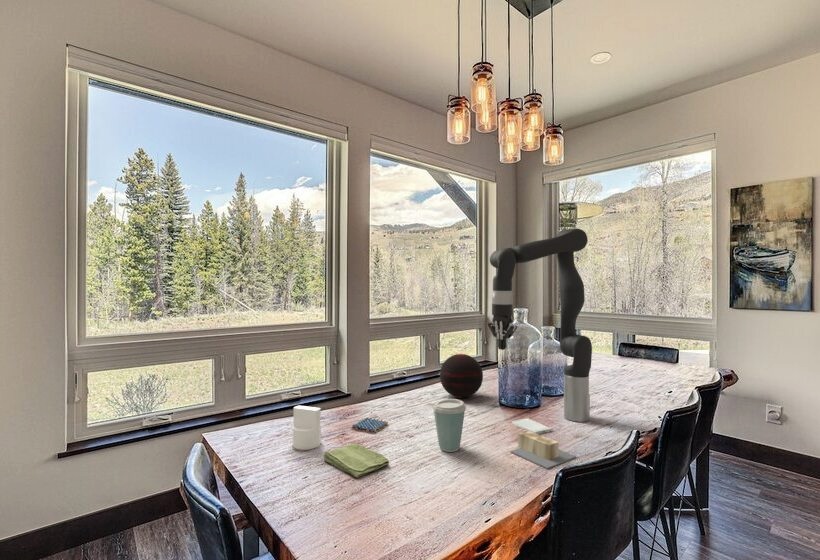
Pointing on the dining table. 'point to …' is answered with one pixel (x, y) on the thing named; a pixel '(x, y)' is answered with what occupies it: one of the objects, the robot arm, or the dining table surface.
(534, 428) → the hard drive
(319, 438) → the white lidded canister
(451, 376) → the decorative orb
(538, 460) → the felt mat
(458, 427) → the disposable coffee cup
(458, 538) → the dining table surface
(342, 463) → the washcloth
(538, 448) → the maple block
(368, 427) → the woven mat
